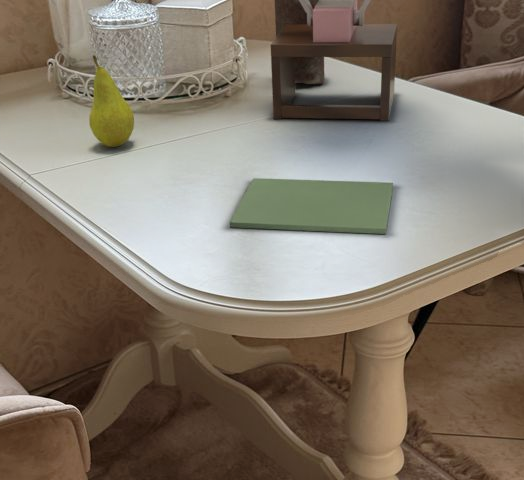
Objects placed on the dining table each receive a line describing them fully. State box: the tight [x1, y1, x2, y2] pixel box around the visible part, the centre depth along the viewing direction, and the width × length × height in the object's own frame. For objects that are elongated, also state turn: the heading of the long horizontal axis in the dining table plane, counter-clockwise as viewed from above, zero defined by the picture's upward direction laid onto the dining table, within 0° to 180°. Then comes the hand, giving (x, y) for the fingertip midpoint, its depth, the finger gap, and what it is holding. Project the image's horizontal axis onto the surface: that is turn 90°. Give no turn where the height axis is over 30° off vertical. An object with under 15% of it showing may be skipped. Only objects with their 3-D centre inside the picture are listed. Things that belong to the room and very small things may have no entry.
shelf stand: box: [270, 23, 398, 122], centre depth 111 cm, size 16×12×10 cm
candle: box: [274, 0, 325, 85], centre depth 119 cm, size 8×7×20 cm
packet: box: [313, 0, 358, 43], centre depth 107 cm, size 5×10×4 cm, turn 169°
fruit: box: [88, 55, 135, 148], centre depth 101 cm, size 6×6×12 cm
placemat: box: [229, 177, 394, 235], centre depth 85 cm, size 16×12×1 cm
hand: (335, 25), depth 108 cm, fingers closed on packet, 5 cm apart
